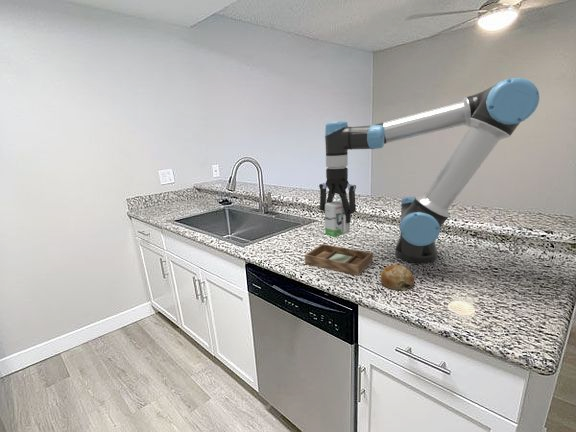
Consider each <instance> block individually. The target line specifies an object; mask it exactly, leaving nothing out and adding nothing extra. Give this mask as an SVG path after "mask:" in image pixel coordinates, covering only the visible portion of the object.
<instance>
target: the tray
mask: <svg viewBox="0 0 576 432" xmlns="http://www.w3.org/2000/svg"><path fill="white" fill-rule="evenodd" d="M373 254H374V253H373V252H369V251H365V250H364V251H363V250H359V249H358V250H357V249H352V248H349V247H348V248H347V247H341V246H335V245H332V244H324V243H322V244H320V245H319V246H317V247H316V248H313V249H312V250H310V251H309V252H307V253H306V254H304V261H305V262H304V264H306V265H309V266H315V267H319V268H322V269H327V270H331V271H332V270H333V271H335V272H340V273H345V274H348V275H354V276H357V277H358V276H360V274H361V273H363V272H364V271H365V270H366V269H367V268H368V266H370V264H372V263H373V258H374V257H373V256H374V255H373Z"/></svg>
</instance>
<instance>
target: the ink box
mask: <svg viewBox="0 0 576 432" xmlns="http://www.w3.org/2000/svg"><path fill="white" fill-rule="evenodd" d="M349 206H350V205H349ZM344 214H345V211H344V207H343V204H342V201H341V199H340V200H335V201H332V202H330V203H326V204H325V212H324V224H325V225H324V229H325V230H324V231H325V232H324V233H325V234H324V235H326V236H329V237H333V238H337V237H340V236H342V235H346V234H349V233H350V232H351V228H350V227H351V225H350V224H351V222H350V223H349V230H348V231H347V232H343V215H344Z"/></svg>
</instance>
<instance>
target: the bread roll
mask: <svg viewBox="0 0 576 432" xmlns="http://www.w3.org/2000/svg"><path fill="white" fill-rule="evenodd" d="M379 276H380V282H381V284H383V286H384V287H386V288H389V289H391V290H393V291H394V290H395V291H406V290H408V289H410V288H412V287H413V286H414V284H415V277H414V275H413V273H412V272H411V271H410V269H408V267H405V266H403V265H402V264H401V265H400V264H391V265H388V266H386V267H384V268H383V269H382V271H380V272H379Z"/></svg>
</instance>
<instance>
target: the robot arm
mask: <svg viewBox="0 0 576 432" xmlns="http://www.w3.org/2000/svg"><path fill="white" fill-rule="evenodd" d="M539 103H540V92H539V88H538V87H537V85H535V83H533V81H531V80H529V79H528V78H527V79H526V78H522V77H513V78H512V77H510V78H506V79H502V80H501V81H499V82H498V83H496V84H494V85H492V86H490V87H489V88H486V89H484V90H483V91H480V92H478V93H475V94H473V95H469V96H468V95H467V96H465V97H464V98H463V100H462V101H459V102H455V103H451V104H447V105H444V106H441V107H437V108H433V109H429V110H425V111H421V112H417V113H413V114H409V115H406V116H404V117H403V116H402V117H399V118H395V119H391V120H388V121H384V122H380V123H376V124H370V125H362V126H359V125H358V126H349V125H348V122H347V121H345V120H342V121H341V120H340V121H329V122H327V123H326V124H325V135H324V139H325V142H324V143H325V167H326V169H325V178H326V181H325V182H323V183H320V184H319V185H318V188H319V191H320V192H319V210H320V211H323V212H324V213H325V204H326V203H330V202H334V201H333V200H334V198H335V195H336V194H337V195H338V196H339V198H340V200H341V201H342V204H343V207H344V211H345V214H344V215H343V232H347V231H348V230H349V223H350V224H351V219H352V217H351V216H352V214H354V213H356V211H357V204H356V203H357V202H356V189H357V185H356V184H350V183H349V181H348V175H349V174H348V173H349V172H348V171H349V169H348V167H347V166H348V164H349V163H348V162H349V161H348V158H349V157H348V153H349V152H348V151H349V150H376V149H377V150H378V149H382V148H384V145H385V144H388V143H393V142H398V141H401V140H402V141H403V140H405V139H410V138H414V137H418V136H423V135H427V134H430V133H431V134H432V133H436V132H441V131H445V130H448V129H449V130H450V129H453V128H457V127H461V126H462V127H463V126H466V127H468V128H469V129H468V130H467V132H466V133H465V134H464V136H463V137H462V139H461V141H459V143H458V145H457V146H456V147H455V149H453V150H454V151H452V153H451V154H450V156H449V157H448V159H447V161H446V162H445V164H444V165H443V166H442V168H440V171H439V172H438V173H437V175H436V176H435V177H434V179H433V181H432V182H431V184H430V185H429V186H428V188H427V189H426V191H425V192H424V194H422V195H419V196H405V197H403V198H401V203H400V206H401V208H400V223H399V226H398V227H399V233H400V234H399V238H398V240H397V243H396V245H395V248H394V254H395V256H396V258H398V259H400V260H401V261H404V262H409V263H415V264H416V263H418V264H421V263H422V264H425V263H431V262H434V261H436V260H437V259H438V248H437V246H436V243H435V241H436V240H437V239H438V238H439V235H440V232H441V228H442V226H443V225H444V224H445V223H446V221H447V220H448V218H449V217H450V214H449V213H450V212H449V208H450V207H451V206H452V204H454V202H455V201H456V199H457V198H458V196H459V195H460V194H461V193H462V191H463V190H464V188H465V187H466V186H467V185H468V183H469V182H470V180H471V179H472V177H474V175H475V174H476V172H477V171H478V170H479V168H480V167H481V165H483V163H484V162H485V160H487V158H488V157H489V155H490V154H491V153H492V151H493V150H494V148H495V147H496V146H497V144H498V143H499V142H500V141H501V140H505V139H507V138H510V137H511V136H512V134H513V133H514V131H515V130H516V129H517V127H519V125H520V124H521V123H522V122H524V121H526V120H527V119H529V118H530V116H532V115H533V114H534V112H535V111H536V110H537V107H538V106H539ZM327 189H328V192H327ZM347 190H348V194H347ZM347 195H348V196H347ZM349 205H350V206H349Z"/></svg>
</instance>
